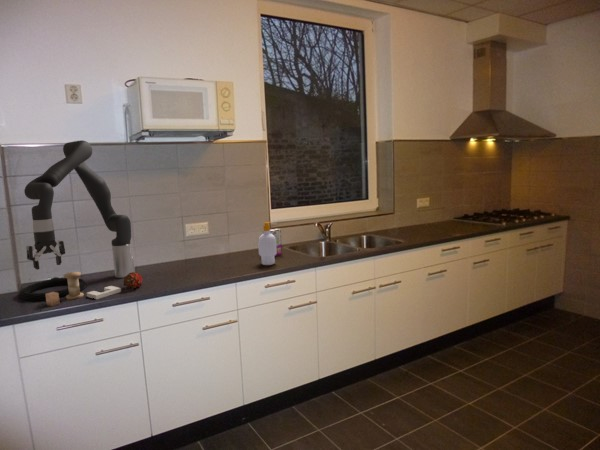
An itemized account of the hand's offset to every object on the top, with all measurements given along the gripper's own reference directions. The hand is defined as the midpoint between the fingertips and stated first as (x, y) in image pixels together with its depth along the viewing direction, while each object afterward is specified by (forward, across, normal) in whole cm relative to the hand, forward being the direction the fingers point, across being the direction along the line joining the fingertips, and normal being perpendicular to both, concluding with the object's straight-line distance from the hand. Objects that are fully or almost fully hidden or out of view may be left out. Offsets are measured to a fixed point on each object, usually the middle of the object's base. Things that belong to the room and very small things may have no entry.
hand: (48, 267), depth 173 cm
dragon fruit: (+17, -32, +11) cm, 38 cm away
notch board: (+16, -19, +7) cm, 26 cm away
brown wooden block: (+17, 0, 0) cm, 17 cm away
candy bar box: (+15, -116, +32) cm, 122 cm away
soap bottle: (+15, -99, +42) cm, 108 cm away
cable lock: (+17, -10, -20) cm, 28 cm away
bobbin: (+17, -10, -1) cm, 20 cm away
